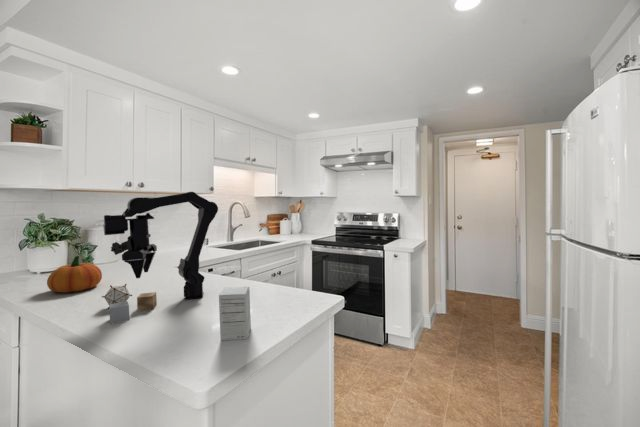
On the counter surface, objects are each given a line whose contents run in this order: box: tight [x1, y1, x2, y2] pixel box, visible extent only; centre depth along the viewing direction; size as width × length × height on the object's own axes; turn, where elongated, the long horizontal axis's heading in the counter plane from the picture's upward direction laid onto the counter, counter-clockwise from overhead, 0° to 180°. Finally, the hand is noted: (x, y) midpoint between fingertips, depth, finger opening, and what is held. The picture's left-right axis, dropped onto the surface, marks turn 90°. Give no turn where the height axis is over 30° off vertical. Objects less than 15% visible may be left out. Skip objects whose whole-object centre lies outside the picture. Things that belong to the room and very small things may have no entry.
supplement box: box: [218, 286, 252, 341], centre depth 83 cm, size 7×7×13 cm
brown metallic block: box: [136, 291, 158, 312], centre depth 106 cm, size 5×5×5 cm
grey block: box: [108, 300, 130, 325], centre depth 96 cm, size 5×5×5 cm
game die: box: [101, 283, 133, 310], centre depth 108 cm, size 9×8×10 cm
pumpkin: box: [46, 255, 103, 294], centre depth 133 cm, size 19×19×15 cm
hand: (142, 275), depth 106 cm, fingers open, 9 cm apart
